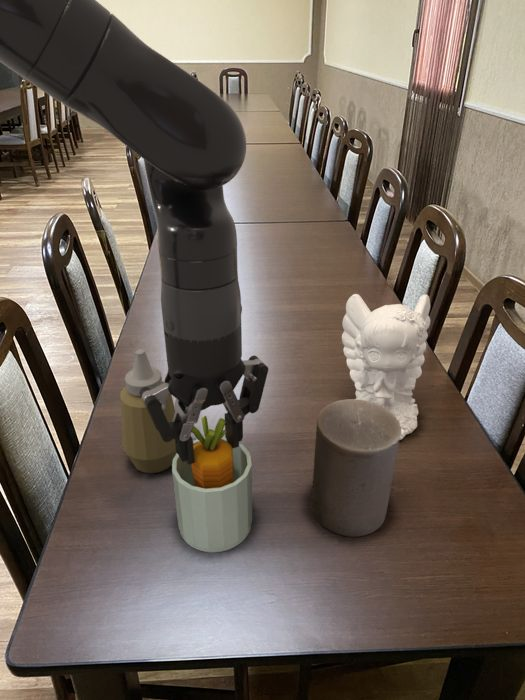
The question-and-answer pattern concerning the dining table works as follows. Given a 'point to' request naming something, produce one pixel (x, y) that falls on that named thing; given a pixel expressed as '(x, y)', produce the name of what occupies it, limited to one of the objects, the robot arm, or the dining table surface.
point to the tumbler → (214, 505)
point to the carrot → (212, 457)
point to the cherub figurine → (387, 354)
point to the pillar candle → (354, 466)
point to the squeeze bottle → (144, 419)
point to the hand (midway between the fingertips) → (210, 450)
